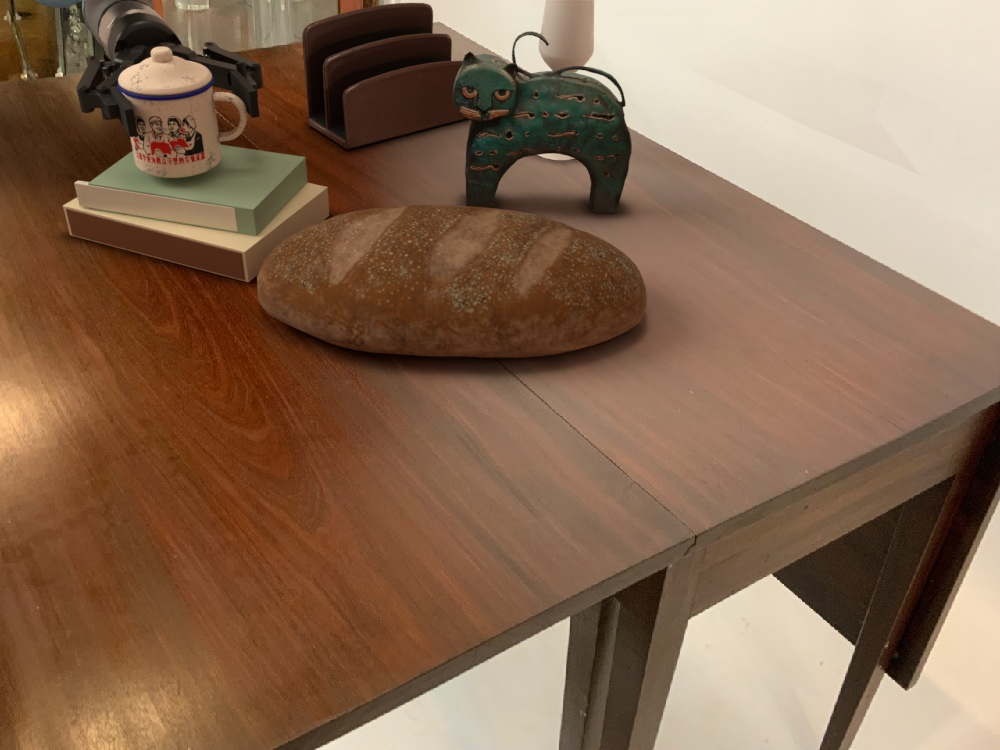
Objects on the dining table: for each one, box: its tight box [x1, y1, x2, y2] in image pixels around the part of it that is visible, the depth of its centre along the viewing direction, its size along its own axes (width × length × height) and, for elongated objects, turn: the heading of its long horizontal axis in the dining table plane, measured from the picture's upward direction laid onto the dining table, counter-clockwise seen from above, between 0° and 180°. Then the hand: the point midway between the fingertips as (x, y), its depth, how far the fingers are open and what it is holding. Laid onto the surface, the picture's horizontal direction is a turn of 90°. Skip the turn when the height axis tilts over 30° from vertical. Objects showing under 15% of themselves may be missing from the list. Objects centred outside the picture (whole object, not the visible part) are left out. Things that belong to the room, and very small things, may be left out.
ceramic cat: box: [453, 30, 633, 215], centre depth 107 cm, size 20×6×20 cm, turn 91°
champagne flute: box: [537, 0, 595, 161], centre depth 119 cm, size 7×7×24 cm
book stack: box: [62, 144, 330, 283], centre depth 104 cm, size 22×16×6 cm
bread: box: [256, 203, 648, 358], centre depth 92 cm, size 22×37×8 cm, turn 90°
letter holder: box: [301, 2, 468, 151], centre depth 126 cm, size 10×20×14 cm, turn 129°
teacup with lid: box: [117, 47, 248, 178], centre depth 98 cm, size 12×9×12 cm
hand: (194, 113), depth 94 cm, fingers closed on teacup with lid, 11 cm apart
